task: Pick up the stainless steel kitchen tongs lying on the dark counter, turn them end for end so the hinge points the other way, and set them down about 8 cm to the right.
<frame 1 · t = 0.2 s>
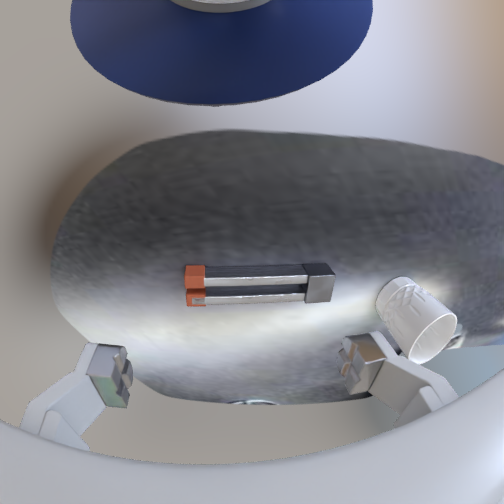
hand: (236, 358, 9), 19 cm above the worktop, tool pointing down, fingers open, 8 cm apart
white cup: (393, 295, 34), on the worktop
tongs: (256, 278, 30), on the worktop
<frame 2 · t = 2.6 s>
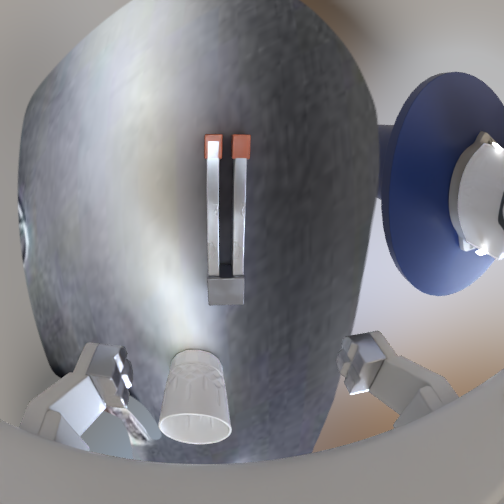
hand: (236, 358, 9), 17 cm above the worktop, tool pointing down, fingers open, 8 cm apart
white cup: (196, 365, 33), on the worktop
tongs: (225, 215, 25), on the worktop
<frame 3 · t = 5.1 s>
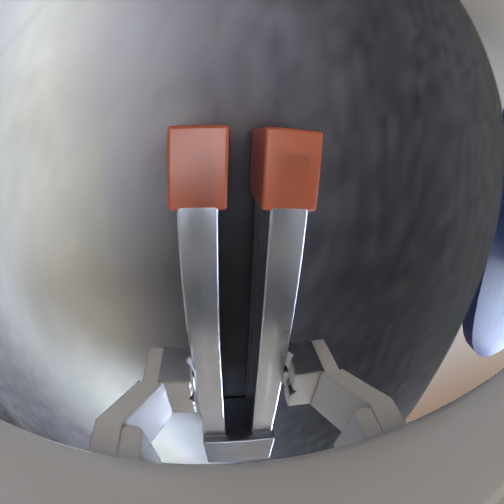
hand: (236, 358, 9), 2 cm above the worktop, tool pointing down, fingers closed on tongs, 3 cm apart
tongs: (233, 327, 11), on the worktop, touching gripper
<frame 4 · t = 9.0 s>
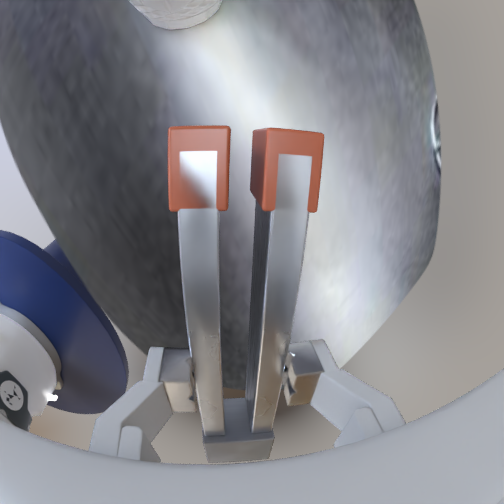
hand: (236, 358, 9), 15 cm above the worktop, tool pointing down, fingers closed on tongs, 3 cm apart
white cup: (182, 1, 14), on the worktop
tongs: (234, 328, 11), point 13 cm above the worktop, touching gripper
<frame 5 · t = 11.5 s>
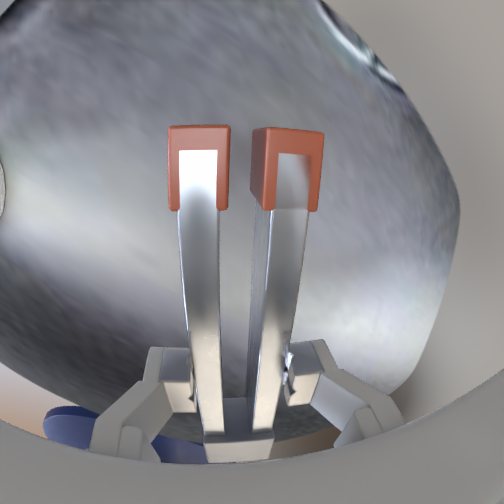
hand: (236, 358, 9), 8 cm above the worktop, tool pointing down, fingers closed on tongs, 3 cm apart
tongs: (233, 328, 11), point 6 cm above the worktop, touching gripper
when the fingers open (2 cm above the worktop, at t = 13.3 s): tongs stays where it is, on the worktop.
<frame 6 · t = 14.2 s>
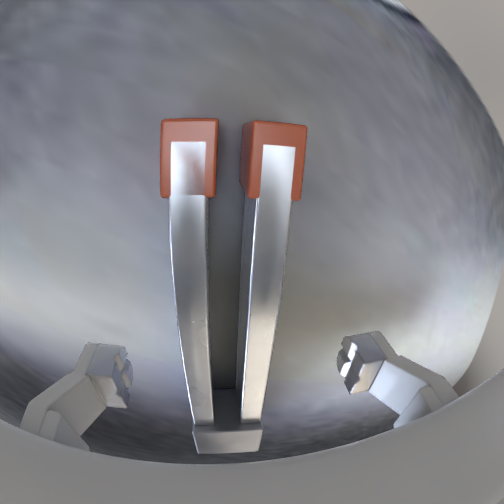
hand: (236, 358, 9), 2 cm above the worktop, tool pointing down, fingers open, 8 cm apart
tongs: (223, 317, 11), on the worktop
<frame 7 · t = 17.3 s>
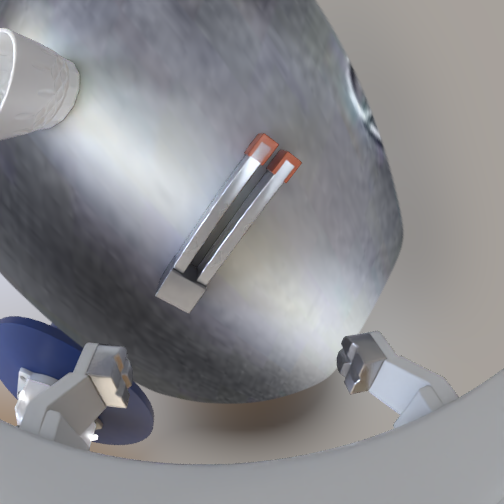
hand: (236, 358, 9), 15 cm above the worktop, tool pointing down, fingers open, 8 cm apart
white cup: (51, 93, 15), on the worktop
tongs: (222, 219, 23), on the worktop
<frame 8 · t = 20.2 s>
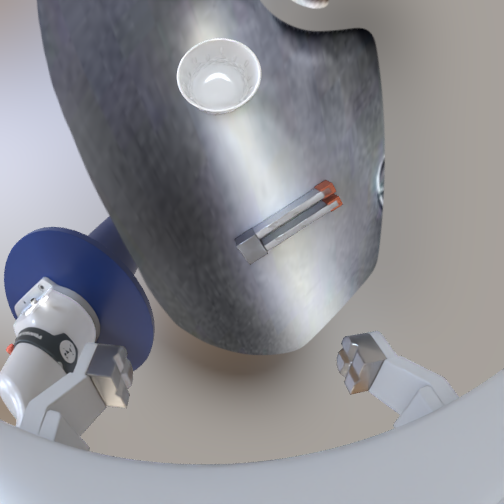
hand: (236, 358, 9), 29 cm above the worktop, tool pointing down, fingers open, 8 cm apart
white cup: (217, 90, 30), on the worktop
tongs: (288, 217, 38), on the worktop
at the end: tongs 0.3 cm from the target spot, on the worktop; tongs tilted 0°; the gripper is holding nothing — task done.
